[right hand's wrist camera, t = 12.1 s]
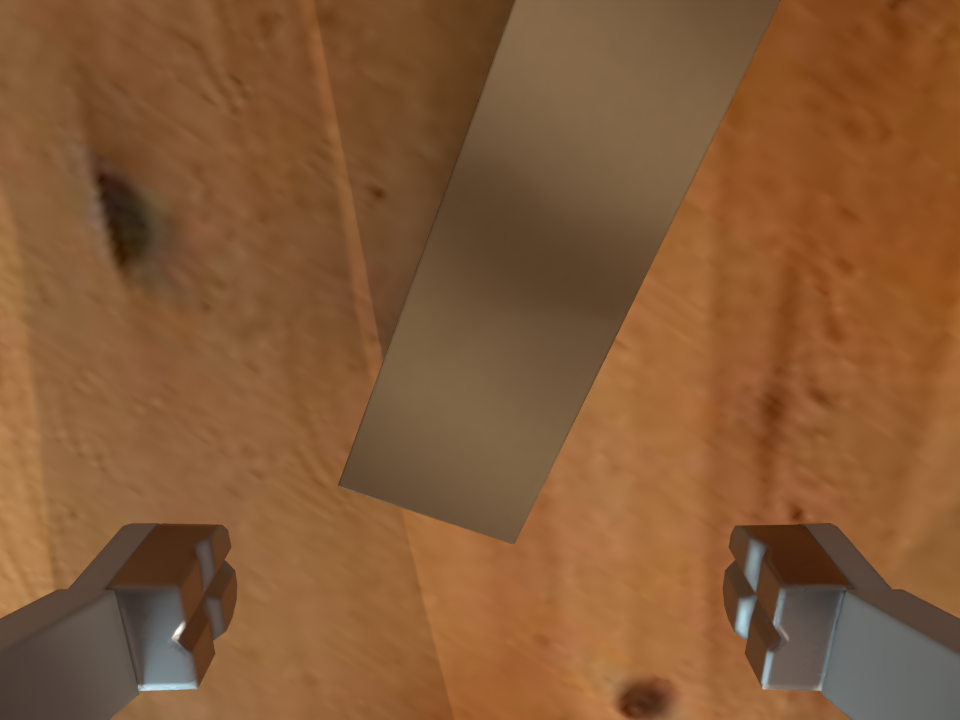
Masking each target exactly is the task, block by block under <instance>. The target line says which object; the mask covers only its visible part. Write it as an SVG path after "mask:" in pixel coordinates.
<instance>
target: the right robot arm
mask: <svg viewBox="0 0 960 720" xmlns="http://www.w3.org/2000/svg"><path fill="white" fill-rule="evenodd" d="M230 549H231V543H230V538H229V533H228V530H227V529H226V528H225V527H224V526H223V525H208V524H158V523H131V524H128V525H125V526H123V527H122V528H121V529H120V530H119V531H118V532H117V534H116V535H115V536H114V537H113V538H112V539H111V541H110V542H109V543H108V544H107V545H106V546H105V547H104V549H103V550H102V551H101V552H100V553H99V554H98V555H97V557H96V558H95V559H94V560H93V561H92V562H91V563H90V565H89V566H88V567H87V568H86V569H85V570H84V571H83V573H82V574H81V575H80V576H79V577H78V578H77V579H76V581H75V582H74V583H73V584H72V585H71V586H70V588H69V589H68V590H56V591H54V592H52V593H50V594H48V595H46V596H44V597H42V598H40V599H38V600H36V601H34V602H32V603H30V604H28V605H26V606H24V607H22V608H20V609H18V610H16V611H14V612H13V613H11V614H9V615H7V616H5V617H3V618H1V619H0V720H109V719H110V718H111V717H113V716H114V715H115V714H116V713H117V712H118V711H120V710H121V709H122V708H123V707H124V706H125V705H127V704H128V703H129V702H130V701H131V700H133V699H134V698H135V697H136V696H137V695H138V694H139V691H144V690H178V689H198V687H199V685H200V683H201V681H202V679H203V677H204V675H205V673H206V671H207V669H208V667H209V665H210V663H211V661H212V659H213V657H214V655H215V650H214V644H213V640H215V639H216V638H217V637H219V636H220V635H222V634H223V633H224V632H226V630H227V628H228V626H229V624H230V622H231V620H232V617H233V613H234V609H235V604H236V600H237V580H236V574H235V570H234V569H233V568H232V567H231V566H230V565H229V564H228V563H227V562H226V561H225V558H226V556H227V554H228V552H229V551H230ZM729 549H730V551H731V552H732V554H733V556H734V558H735V561H734V562H733V563H732V564H731V565H730V566H729V567H728V568H727V569H726V570H725V574H724V582H723V596H724V606H725V610H726V613H727V617H728V620H729V622H730V624H731V626H732V628H733V630H734V632H736V633H737V634H738V635H740V636H741V637H743V638H744V639H745V640H747V644H746V650H745V655H746V657H747V659H748V661H749V663H750V665H751V667H752V669H753V671H754V673H755V675H756V677H757V679H758V681H759V683H760V685H761V687H762V689H781V690H816V691H821V694H822V695H823V696H824V697H825V698H827V699H828V700H829V701H830V702H831V703H832V704H834V705H835V706H836V707H837V708H838V709H840V710H841V711H842V712H843V713H844V714H845V715H847V716H848V717H849V718H850V719H851V720H960V619H959V618H957V617H955V616H953V615H951V614H949V613H947V612H945V611H943V610H941V609H940V608H938V607H936V606H934V605H932V604H930V603H928V602H926V601H924V600H922V599H920V598H918V597H916V596H914V595H912V594H910V593H908V592H906V591H904V590H892V589H891V588H890V586H889V585H888V584H887V583H886V582H885V581H884V580H883V578H882V577H881V576H880V575H879V574H878V573H877V571H876V570H875V569H874V568H873V567H872V566H871V565H870V563H869V562H868V561H867V560H866V559H865V558H864V557H863V555H862V554H861V553H860V552H859V551H858V550H857V549H856V547H855V546H854V545H853V544H852V543H851V542H850V541H849V539H848V538H847V537H846V536H845V535H844V534H843V533H842V531H841V530H840V529H839V528H838V527H837V526H835V525H833V524H831V523H814V524H798V525H744V526H735V527H734V529H733V531H732V533H731V537H730V543H729Z"/></svg>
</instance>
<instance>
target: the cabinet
mask: <svg viewBox="0 0 960 720" xmlns="http://www.w3.org/2000/svg"><path fill="white" fill-rule="evenodd" d="M780 1H781V0H514V3H513V5H512V8H511V11H510V14H509V16H508V19H507V22H506V25H505V27H504V30H503V33H502V36H501V38H500V41H499V44H498V47H497V49H496V52H495V55H494V58H493V60H492V63H491V66H490V69H489V71H488V74H487V77H486V80H485V83H484V85H483V88H482V91H481V94H480V96H479V99H478V102H477V105H476V107H475V110H474V113H473V116H472V118H471V121H470V124H469V127H468V129H467V132H466V135H465V138H464V140H463V143H462V146H461V149H460V151H459V154H458V157H457V160H456V162H455V165H454V168H453V171H452V173H451V176H450V179H449V182H448V184H447V187H446V190H445V193H444V195H443V198H442V201H441V204H440V206H439V209H438V212H437V215H436V217H435V220H434V223H433V226H432V228H431V231H430V234H429V237H428V239H427V242H426V245H425V248H424V250H423V253H422V256H421V259H420V261H419V264H418V267H417V270H416V272H415V275H414V278H413V281H412V283H411V286H410V289H409V292H408V294H407V297H406V300H405V303H404V305H403V308H402V311H401V314H400V316H399V319H398V322H397V325H396V327H395V330H394V333H393V336H392V338H391V341H390V344H389V347H388V349H387V352H386V355H385V358H384V360H383V363H382V366H381V369H380V371H379V374H378V377H377V380H376V382H375V385H374V388H373V391H372V393H371V396H370V399H369V402H368V404H367V407H366V410H365V413H364V415H363V418H362V421H361V424H360V426H359V429H358V432H357V435H356V437H355V440H354V443H353V446H352V448H351V451H350V454H349V457H348V459H347V462H346V465H345V468H344V470H343V473H342V476H341V479H340V481H339V484H338V486H339V487H341V488H344V489H347V490H350V491H353V492H356V493H359V494H362V495H365V496H368V497H371V498H374V499H377V500H380V501H383V502H386V503H389V504H392V505H395V506H398V507H401V508H404V509H407V510H410V511H413V512H416V513H419V514H422V515H425V516H428V517H432V518H435V519H438V520H441V521H444V522H447V523H450V524H453V525H456V526H459V527H462V528H465V529H468V530H471V531H474V532H477V533H480V534H483V535H486V536H489V537H492V538H495V539H498V540H501V541H504V542H507V543H510V544H514V543H515V542H516V540H517V538H518V535H519V533H520V531H521V529H522V527H523V525H524V523H525V521H526V519H527V517H528V515H529V513H530V511H531V509H532V507H533V505H534V503H535V501H536V499H537V497H538V495H539V493H540V491H541V489H542V487H543V484H544V482H545V480H546V478H547V476H548V474H549V472H550V470H551V468H552V466H553V464H554V462H555V460H556V458H557V456H558V454H559V452H560V450H561V448H562V446H563V444H564V442H565V440H566V438H567V436H568V433H569V431H570V429H571V427H572V425H573V423H574V421H575V419H576V417H577V415H578V413H579V411H580V409H581V407H582V405H583V403H584V401H585V399H586V397H587V395H588V393H589V391H590V389H591V387H592V385H593V382H594V380H595V378H596V376H597V374H598V372H599V370H600V368H601V366H602V364H603V362H604V360H605V358H606V356H607V354H608V352H609V350H610V348H611V346H612V344H613V342H614V340H615V338H616V336H617V334H618V331H619V329H620V327H621V325H622V323H623V321H624V319H625V317H626V315H627V313H628V311H629V309H630V307H631V305H632V303H633V301H634V299H635V297H636V295H637V293H638V291H639V289H640V287H641V285H642V283H643V280H644V278H645V276H646V274H647V272H648V270H649V268H650V266H651V264H652V262H653V260H654V258H655V256H656V254H657V252H658V250H659V248H660V246H661V244H662V242H663V240H664V238H665V236H666V234H667V232H668V229H669V227H670V225H671V223H672V221H673V219H674V217H675V215H676V213H677V211H678V209H679V207H680V205H681V203H682V201H683V199H684V197H685V195H686V193H687V191H688V189H689V187H690V185H691V183H692V181H693V178H694V176H695V174H696V172H697V170H698V168H699V166H700V164H701V162H702V160H703V158H704V156H705V154H706V152H707V150H708V148H709V146H710V144H711V142H712V140H713V138H714V136H715V134H716V132H717V130H718V127H719V125H720V123H721V121H722V119H723V117H724V115H725V113H726V111H727V109H728V107H729V105H730V103H731V101H732V99H733V97H734V95H735V93H736V91H737V89H738V87H739V85H740V83H741V81H742V79H743V76H744V74H745V72H746V70H747V68H748V66H749V64H750V62H751V60H752V58H753V56H754V54H755V52H756V50H757V48H758V46H759V44H760V42H761V40H762V38H763V36H764V34H765V32H766V30H767V27H768V25H769V23H770V21H771V19H772V17H773V15H774V13H775V11H776V9H777V7H778V5H779V3H780Z"/></svg>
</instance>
